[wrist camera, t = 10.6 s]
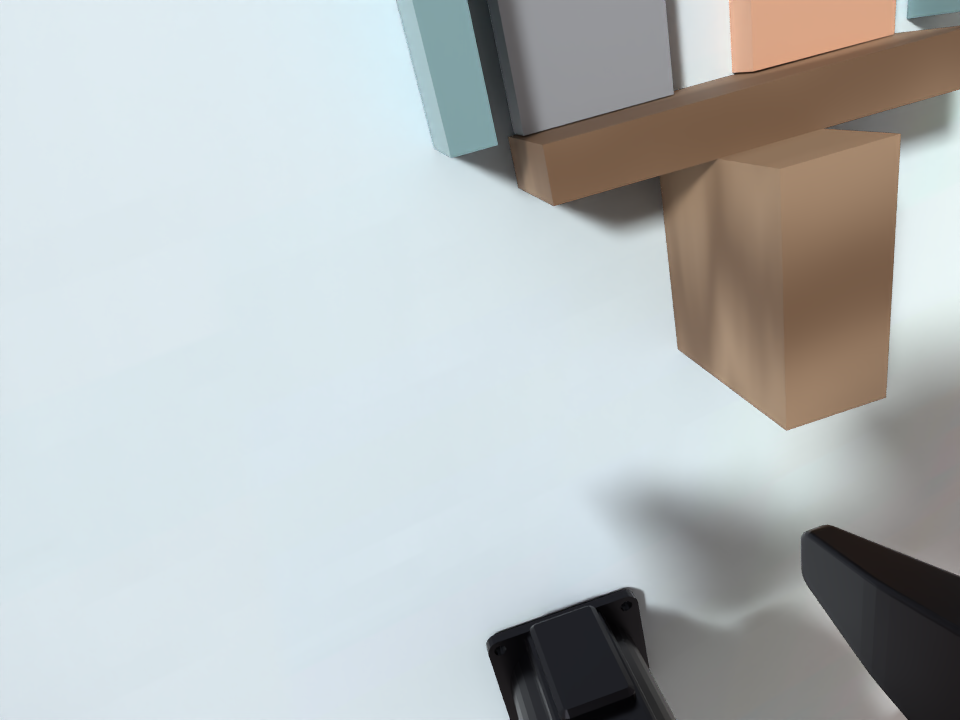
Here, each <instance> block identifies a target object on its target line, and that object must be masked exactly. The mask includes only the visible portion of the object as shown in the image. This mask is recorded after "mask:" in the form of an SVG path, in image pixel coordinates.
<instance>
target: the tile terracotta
mask: <svg viewBox="0 0 960 720" xmlns="http://www.w3.org/2000/svg"><path fill="white" fill-rule="evenodd" d="M729 10H730V32H731V54H732V73H738V72H753V71H757V70H761V69H765V68H768V67H772V66H776V65H780V64H783V63H787V62H791V61H795V60H799V59H802V58H806V57H810V56H814V55H817V54H821V53H825V52H829V51H833V50H836V49H840V48H844V47H848V46H852V45H855V44H859V43H863V42H867V41H870V40H874V39H878V38H882V37H886V36H889V35H893V34H894V30H895V11H896V0H729Z"/></svg>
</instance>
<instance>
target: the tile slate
mask: <svg viewBox="0 0 960 720" xmlns="http://www.w3.org/2000/svg"><path fill="white" fill-rule="evenodd" d="M487 3H488V8H489V13H490V18H491V23H492V28H493V33H494V38H495V43H496V48H497V53H498V57H499V62H500V67H501V72H502V77H503V82H504V87H505V92H506V97H507V102H508V107H509V112H510V117H511V122H512V127H513V132H514V134H518V135H522V136H525V135H529V134H532V133H536V132H539V131H543V130H547V129H550V128H554V127H557V126H561V125H565V124H568V123H572V122H575V121H579V120H583V119H586V118H590V117H594V116H597V115H601V114H604V113H608V112H612V111H615V110H619V109H622V108H626V107H630V106H633V105H637V104H640V103H644V102H648V101H651V100H655V99H658V98H662V97H666V96H669V95H673V94H674V90H673V79H672V68H671V57H670V46H669V35H668V24H667V13H666V2H665V0H487Z"/></svg>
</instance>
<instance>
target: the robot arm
mask: <svg viewBox="0 0 960 720" xmlns="http://www.w3.org/2000/svg"><path fill="white" fill-rule="evenodd" d="M801 569H802V574H803V577H804V580H805V582H806V584H807V585H808V587H809V589H810V590H811V591H812V593H813V594H814V596H815V597H816V599H817V600H818V601H819V603H820V604H821V606H822V607H823V609H824V610H825V611H826V613H827V614H828V616H829V617H830V619H831V620H832V621H833V623H834V624H835V626H836V627H837V628H838V630H839V631H840V633H841V634H842V636H843V637H844V638H845V640H846V641H847V643H848V644H849V646H850V647H851V648H852V650H853V651H854V653H855V654H856V656H857V657H858V658H859V660H860V661H861V663H862V664H863V665H864V667H865V668H866V669H867V671H868V672H869V674H870V675H871V676H872V677H873V679H874V680H875V681H876V682H877V684H878V685H879V686H880V687H881V688H882V690H883V691H884V692H885V693H886V694H887V696H888V697H889V698H890V699H891V700H892V701H893V703H894V704H895V705H896V706H897V707H898V709H899V710H900V711H901V712H902V713H903V714H904V715H905V717H906V718H907V719H908V720H960V576H958V575H956V574H953V573H951V572H948V571H946V570H943V569H940V568H938V567H935V566H933V565H930V564H928V563H925V562H923V561H920V560H918V559H915V558H913V557H910V556H908V555H905V554H903V553H900V552H898V551H895V550H892V549H890V548H887V547H885V546H882V545H880V544H877V543H875V542H872V541H870V540H867V539H865V538H862V537H860V536H857V535H855V534H852V533H850V532H847V531H844V530H842V529H839V528H837V527H834V526H831V525H822V526H819V527H816V528H814V529H811V530H808V531H806V532H804V533H803V535H802V537H801ZM624 602H625V603H624ZM486 646H487V651H488V654H489V657H490V660H491V663H492V666H493V669H494V672H495V675H496V678H497V681H498V684H499V687H500V690H501V693H502V696H503V699H504V702H505V705H506V708H507V711H508V714H509V717H510V720H676V719H675V717H674V715H673V713H672V711H671V710H670V708H669V706H668V704H667V702H666V700H665V698H664V697H663V695H662V693H661V691H660V689H659V687H658V685H657V684H656V682H655V680H654V678H653V676H652V674H651V672H650V670H649V664H648V659H647V653H646V647H645V641H644V636H643V630H642V624H641V618H640V612H639V607H638V602H637V599H636V598H635V596H634V594H633V593H632V592H631V591H630V590H621V591H618V592H615V593H612V594H609V595H606V596H604V597H601V598H598V599H595V600H592V601H589V602H587V603H584V604H581V605H578V606H575V607H572V608H569V609H567V610H564V611H561V612H558V613H555V614H552V615H549V616H547V617H544V618H541V619H538V620H535V621H532V622H530V623H527V624H524V625H521V626H518V627H515V628H512V629H510V630H507V631H504V632H501V633H498V634H495V635H493V636H492V637H490V638H489V639H488V641H487V643H486ZM499 646H501V647H499Z"/></svg>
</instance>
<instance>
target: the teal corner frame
mask: <svg viewBox="0 0 960 720" xmlns="http://www.w3.org/2000/svg"><path fill="white" fill-rule="evenodd" d="M396 1H397V5H398V9H399V13H400V17H401V21H402V25H403V29H404V33H405V36H406V40H407V44H408V48H409V52H410V56H411V60H412V64H413V68H414V72H415V75H416V79H417V83H418V87H419V91H420V95H421V99H422V103H423V107H424V111H425V114H426V118H427V122H428V126H429V130H430V134H431V138H432V142H433V146H434V149H436V150H437V151H439V152H441V153H443V154H445V155H446V156H448V157H450V158H453V157H457V156H461V155H464V154H468V153H471V152H475V151H479V150H482V149H486V148H489V147H493V146H497V145H498V142H497V138H496V133H495V128H494V123H493V119H492V114H491V109H490V105H489V100H488V95H487V91H486V86H485V81H484V77H483V72H482V67H481V62H480V58H479V53H478V48H477V44H476V39H475V34H474V30H473V25H472V20H471V16H470V11H469V6H468V1H467V0H396ZM953 12H960V0H908V12H907V19H910V18H917V17H924V16H932V15H939V14H946V13H953Z"/></svg>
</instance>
